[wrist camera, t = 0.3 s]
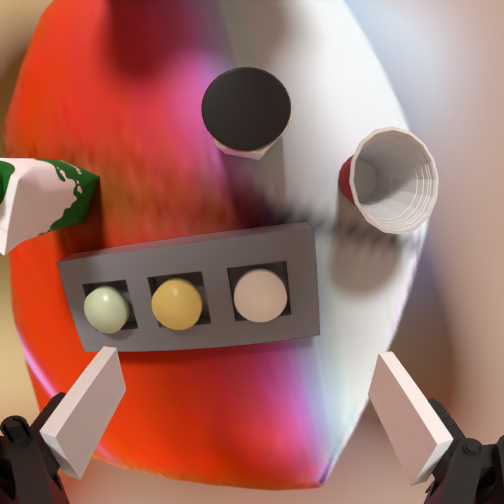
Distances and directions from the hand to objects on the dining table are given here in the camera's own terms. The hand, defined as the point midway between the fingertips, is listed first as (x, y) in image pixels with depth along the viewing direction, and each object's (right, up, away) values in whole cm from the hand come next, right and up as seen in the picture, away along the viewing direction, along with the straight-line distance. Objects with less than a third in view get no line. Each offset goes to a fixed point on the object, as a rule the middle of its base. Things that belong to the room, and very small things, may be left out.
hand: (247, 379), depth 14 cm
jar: (0, +22, +23) cm, 32 cm away
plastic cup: (+15, +16, +25) cm, 33 cm away
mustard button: (-9, 0, +23) cm, 25 cm away
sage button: (-19, -1, +23) cm, 30 cm away
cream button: (+1, +1, +23) cm, 23 cm away
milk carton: (-26, +15, +25) cm, 39 cm away
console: (-9, +1, +28) cm, 29 cm away
